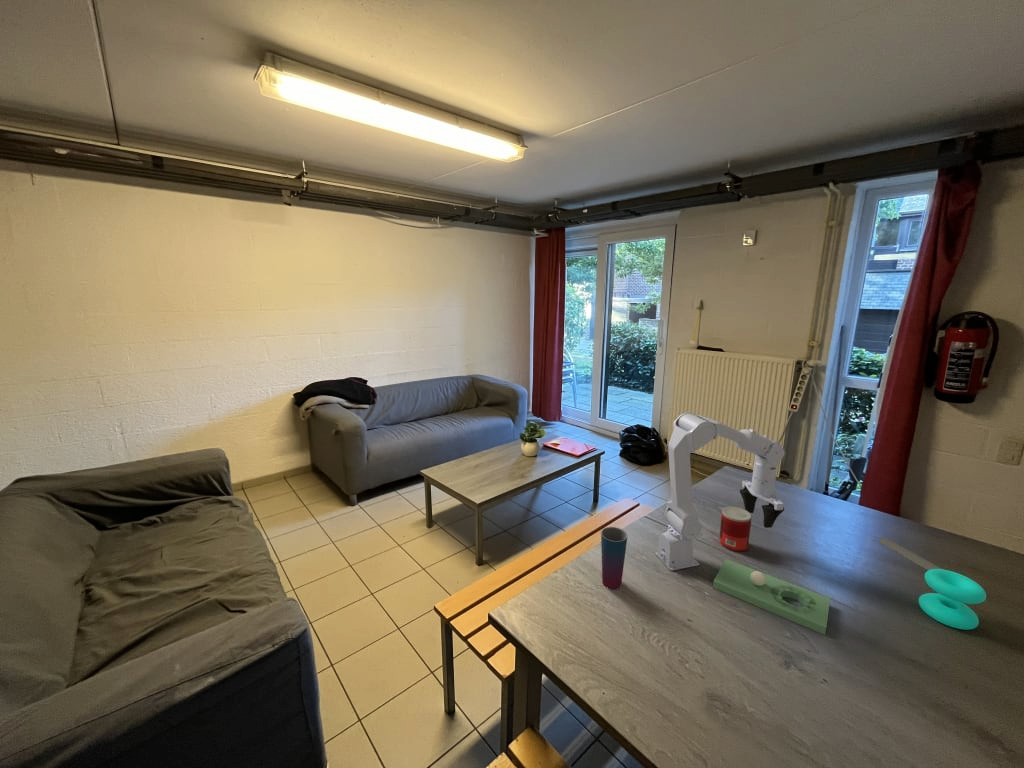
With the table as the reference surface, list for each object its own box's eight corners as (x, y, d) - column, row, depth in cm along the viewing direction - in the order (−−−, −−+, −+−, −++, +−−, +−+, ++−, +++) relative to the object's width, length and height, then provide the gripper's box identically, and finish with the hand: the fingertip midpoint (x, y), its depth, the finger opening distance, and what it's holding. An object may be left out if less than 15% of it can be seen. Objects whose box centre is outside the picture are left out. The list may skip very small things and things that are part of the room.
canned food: (753, 551, 123) (757, 519, 120) (726, 552, 123) (729, 520, 120) (739, 536, 130) (743, 505, 127) (714, 537, 130) (717, 506, 128)
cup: (595, 586, 109) (597, 537, 106) (602, 571, 115) (604, 524, 111) (621, 595, 106) (624, 544, 102) (627, 579, 112) (630, 530, 108)
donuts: (943, 563, 102) (998, 590, 92) (934, 597, 104) (988, 627, 95) (915, 570, 99) (969, 599, 90) (907, 605, 101) (959, 636, 92)
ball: (757, 590, 104) (758, 578, 104) (746, 580, 108) (747, 569, 107) (768, 587, 105) (769, 575, 104) (757, 578, 108) (758, 567, 108)
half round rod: (888, 541, 128) (889, 536, 128) (963, 584, 109) (964, 578, 109) (876, 542, 128) (877, 537, 127) (950, 585, 109) (951, 580, 108)
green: (712, 587, 108) (713, 580, 108) (724, 564, 117) (725, 558, 117) (825, 635, 93) (826, 627, 92) (828, 605, 102) (830, 598, 101)
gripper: (795, 488, 112) (789, 532, 115) (758, 466, 126) (753, 506, 129) (772, 490, 111) (766, 534, 114) (737, 468, 125) (733, 507, 128)
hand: (758, 519), depth 122 cm, fingers open, 7 cm apart
